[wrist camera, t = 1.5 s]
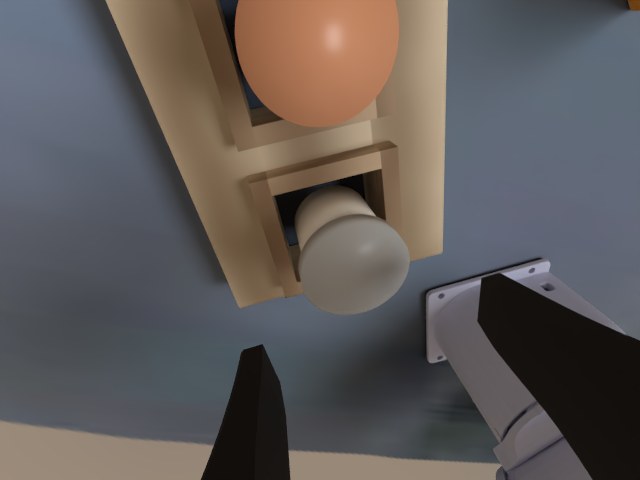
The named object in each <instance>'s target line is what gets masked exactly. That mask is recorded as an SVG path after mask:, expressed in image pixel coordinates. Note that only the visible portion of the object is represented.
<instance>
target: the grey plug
mask: <svg viewBox="0 0 640 480" xmlns="http://www.w3.org/2000/svg"><path fill="white" fill-rule="evenodd" d="M294 226H295V231H296V235H297V239H298V243H299V246H300V250H301V254H300V257H299V264H298V267H299V275H300V279H301V284H302V288H303V291H304V293H305V295H306V297H307V298H308V299H309V301H310V302H311V303H312V304H313V305H314V306H316V307H317V308H319V309H321V310H323V311H325V312H328V313H331V314H336V315H353V314H359V313H363V312H366V311H369V310H371V309H374V308H376V307H378V306H380V305H381V304H383V303H384V302H386V301H387V300H388V299H390V298H391V297H392V296H393V295H394V294H395V293H396V292H397V291H398V290H399V288H400V287H401V285H402V284H403V282H404V280H405V278H406V276H407V273H408V270H409V265H410V257H409V251H408V248H407V246H406V244H405V242H404V241H403V240H402V238H401V237H400V236H399V234H398V233H397V232H396V230H395V229H394V228H393V227H392V226H391V225H390V224H389V223H388V222H386V221H385V220H383V219H381V218H379V217H376V216H375V214H374V213H373V211H372V210H371V209H370V207H369V206H368V204H367V203H366V202H365V200H364V199H363V198H362V196H361V195H360V194H359V193H357V192H356V191H355V190H353V189H351V188H348V187H345V186H338V185H334V186H326V187H323V188H320V189H318V190H316V191H314V192H312V193H311V194H310V195H308V196H307V197H306V198H305V199H304V200H303V201H302V203H301V204H300V206H299V207H298V209H297V212H296V215H295V221H294Z"/></svg>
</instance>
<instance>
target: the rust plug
mask: <svg viewBox="0 0 640 480" xmlns="http://www.w3.org/2000/svg"><path fill="white" fill-rule="evenodd" d="M235 41H236V49H237V54H238V59H239V62H240V65H241V68H242V71H243V73H244V76H245V78H246V80H247V82H248V84H249V85H250V87H251V89H252V90H253V92H254V93H255V94H256V96H257V97H258V98H259V99H260V101H261V102H262V103H263V104H264V105H265V106H266V107H267V108H268V109H270V110H271V111H272V112H274V113H275V114H276V115H278V116H279V117H281V118H283V119H285V120H287V121H289V122H292V123H294V124H298V125H302V126H307V127H327V126H333V125H336V124H339V123H343V122H345V121H347V120H349V119H351V118H353V117H354V116H356V115H358V114H359V113H360V112H362V111H363V110H364V109H365V108H367V107H368V106H369V105H370V104H371V103H372V102H373V100H374V99H375V98H376V97H377V96H378V94H379V93H380V92H381V90H382V88H383V87H384V85H385V83H386V82H387V80H388V77H389V75H390V73H391V71H392V68H393V65H394V62H395V58H396V54H397V49H398V41H399V19H398V11H397V6H396V1H395V0H239V1H238V5H237V10H236V18H235Z"/></svg>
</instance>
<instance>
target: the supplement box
mask: <svg viewBox="0 0 640 480" xmlns="http://www.w3.org/2000/svg"><path fill="white" fill-rule="evenodd" d="M628 4H629V6H630V9H631V10H632V11H639V10H640V0H628Z"/></svg>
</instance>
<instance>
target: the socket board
mask: <svg viewBox="0 0 640 480" xmlns="http://www.w3.org/2000/svg"><path fill="white" fill-rule="evenodd" d="M395 1H396V6H397V11H398V19H399V41H398V49H397V54H396V58H395V62H394V65H393V68H392V71H391V73H390V75H389V77H388V80H387V82H386V83H385V85H384V87H383V88H382V90H381V92H380V93H379V94H378V96H377V97H376V98H375V99H374V100H373V102H372V103H371V104H370V105H369V106H368V107H367V108H365V109H364V110H363V111H362V112H360V113H359V114H358V115H356V116H354V117H353V118H351V119H349V120H347V121H345V122H343V123H339V124H336V125H333V126H327V127H307V126H302V125H298V124H294V123H292V122H289V121H287V120H285V119H283V118H281V117H279V116H278V115H276V114H275V113H274V112H272V111H271V110H270V109H268V108H267V107H266V106H263V107H259V108H255V109H251V110H250V107H249V103H248V100H247V96H246V93H245V89H244V86H243V82H242V79H241V75H240V71H239V68H238V64H237V61H236V57H235V54H234V50H233V47H232V43H231V40H230V36H229V33H228V29H227V26H226V22H225V19H224V15H223V12H222V8H221V4H220V1H219V0H106V3H107V5H108V7H109V10H110V12H111V14H112V16H113V19H114V21H115V23H116V26H117V28H118V30H119V33H120V35H121V37H122V39H123V42H124V44H125V46H126V49H127V51H128V53H129V56H130V58H131V60H132V62H133V65H134V67H135V69H136V72H137V74H138V76H139V78H140V81H141V83H142V85H143V88H144V90H145V92H146V95H147V97H148V99H149V101H150V104H151V106H152V108H153V111H154V113H155V115H156V118H157V120H158V122H159V124H160V127H161V129H162V131H163V134H164V136H165V138H166V141H167V143H168V145H169V147H170V150H171V152H172V154H173V157H174V159H175V161H176V164H177V166H178V168H179V170H180V173H181V175H182V177H183V180H184V182H185V184H186V187H187V189H188V191H189V193H190V196H191V198H192V200H193V203H194V205H195V207H196V210H197V212H198V214H199V216H200V219H201V221H202V223H203V226H204V228H205V230H206V233H207V235H208V237H209V239H210V242H211V244H212V246H213V249H214V251H215V253H216V256H217V258H218V260H219V262H220V265H221V267H222V269H223V272H224V274H225V276H226V279H227V281H228V283H229V285H230V288H231V290H232V292H233V295H234V297H235V299H236V302H237V304H238V306H239V308H242V307H246V306H249V305H253V304H257V303H260V302H264V301H268V300H271V299H275V298H279V297H282V296H285V298H287V297H291V296H295V295H298V294H302V293H304V291H303V288H302V284H301V279H300V275H299V267H298V264H299V257H300V254H301V250H300V246H299V244H297V245H293V246H289V244H288V241H287V237H286V234H285V230H284V227H283V223H282V220H281V216H280V213H279V209H278V206H277V202H276V199H275V195H279V194H283V193H287V192H290V191H294V190H298V189H302V188H306V187H310V186H314V185H318V184H322V183H326V182H330V181H334V180H338V179H342V178H346V177H350V176H354V175H358V174H363V183H364V191H365V199H366V203H367V204H368V206H369V207H370V209H371V210H372V211H373V213H374V214H375V216H376V217H379V218H381V219H383V220H385V221H386V222H388V223H389V224H390V225H391V226H392V227H393V228H394V229H395V230H396V232H397V233H398V234H399V236H400V237H401V238H402V240H403V241H404V242H405V244H406V246H407V248H408V251H409V257H410V262H411V261H414V260H418V259H422V258H425V257H429V256H433V255H436V254H440V253H442V252H443V203H444V154H445V106H446V57H447V8H448V0H395Z"/></svg>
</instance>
